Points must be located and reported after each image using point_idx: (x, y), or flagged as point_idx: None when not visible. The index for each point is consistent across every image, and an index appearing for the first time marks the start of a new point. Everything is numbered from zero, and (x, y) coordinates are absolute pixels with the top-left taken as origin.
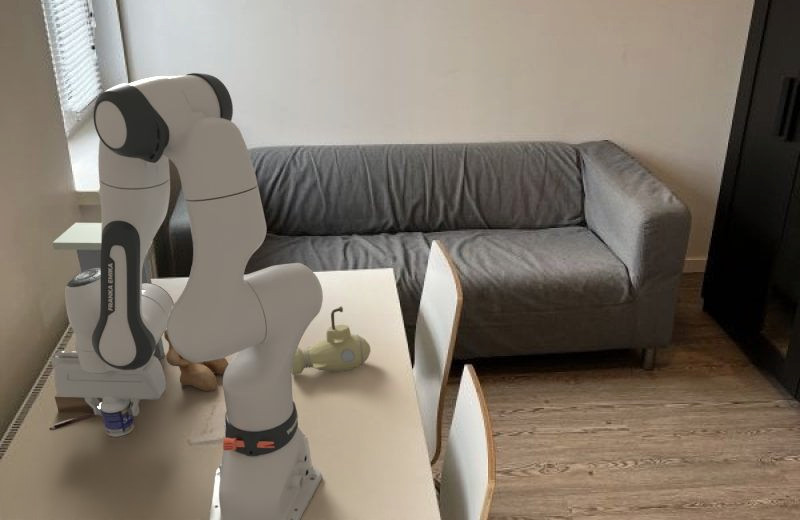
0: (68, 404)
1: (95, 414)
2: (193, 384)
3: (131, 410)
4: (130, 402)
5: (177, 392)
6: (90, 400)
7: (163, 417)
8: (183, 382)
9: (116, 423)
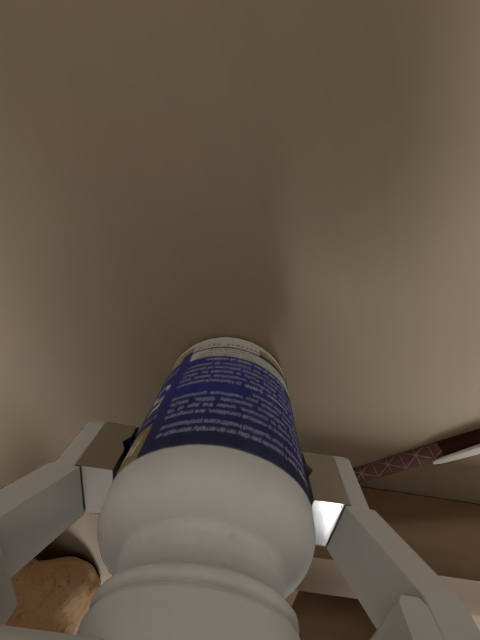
0: (469, 535)
1: (344, 459)
2: None
3: (84, 456)
4: None
5: (90, 532)
6: (419, 611)
7: (80, 429)
8: (63, 572)
9: (203, 379)
